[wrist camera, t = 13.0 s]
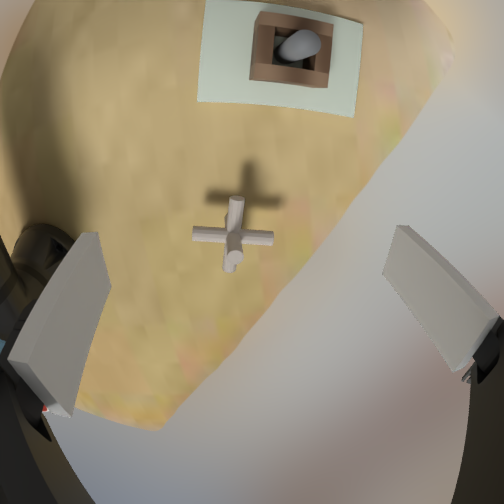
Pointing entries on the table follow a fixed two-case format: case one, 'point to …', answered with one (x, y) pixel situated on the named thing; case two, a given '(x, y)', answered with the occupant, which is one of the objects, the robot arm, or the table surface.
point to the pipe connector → (233, 235)
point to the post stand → (275, 59)
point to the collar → (286, 26)
